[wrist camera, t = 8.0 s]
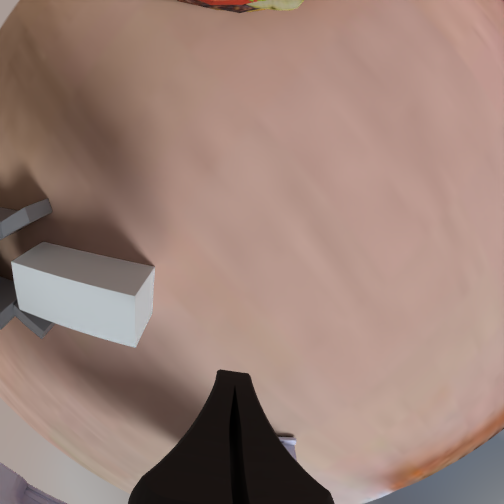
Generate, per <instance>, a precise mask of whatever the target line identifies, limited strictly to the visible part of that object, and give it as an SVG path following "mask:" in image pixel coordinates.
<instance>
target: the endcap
mask: <svg viewBox="0 0 504 504" xmlns="http://www.w3.org/2000/svg"><path fill="white" fill-rule="evenodd" d="M50 213H52V209H51V206H50V203H49V200H48V199H45V200H42V201H39V202H37V203H34V204H31V205H29V206H26V207H24V208H22V209H21V210H19V211H17V210H12V209H6V208H1V207H0V240H1V239H3V238H4V237H6V236H8V235H10V234H12V233H14V232H16V231H18V230H20V229H22V228H24V227H25V226H27V225H29V224H30V223H32V222H34V221H36V220H38V219H40V218H42V217H44V216H46V215H48V214H50ZM15 316H16V317H17V318H18V319H19V320H20V321H21V322H22V323H23V324H25V325H26V326H27V327H28V328H29V329H30V330H31V331H33V332H34V333H35V334H36V335H37V336H38V337H40V338H41V339H43V337H44V336H45V335H46V334H47V333H48V332H49V330H50V329H51V328H52V327H53V326H54V325H55V324H56V323H53V322H51V321H48V320H45V319H43V318H40V317H37V316H35V315H32V314H30V313H27V312H25V311H22V310H20V309H19V305H18V300H17V295H16V290H15V284H14V281H11V280H8V279H6V278H3V277H0V330H1V329H2V328H3V327H4V326H5V325H6V324H7V323H8V322H9V321H10V320H11V319H12V318H14V317H15Z"/></svg>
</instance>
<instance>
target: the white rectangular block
mask: <svg viewBox="0 0 504 504" xmlns="http://www.w3.org/2000/svg"><path fill="white" fill-rule="evenodd" d="M11 264H12V271H13V278H14V284H15V290H16V295H17V300H18V305H19V309H20V310H22V311H25V312H27V313H30V314H32V315H35V316H37V317H40V318H43V319H45V320H48V321H51V322H53V323H56V324H59V325H62V326H65V327H67V328H70V329H73V330H76V331H79V332H83V333H86V334H89V335H92V336H95V337H99V338H102V339H105V340H109V341H112V342H116V343H120V344H123V345H127V346H131V347H135V348H136V346H137V344H138V342H139V340H140V337H141V335H142V333H143V331H144V329H145V327H146V325H147V323H148V321H149V319H150V317H151V315H152V310H153V290H154V274H155V267H154V266H149V265H145V264H140V263H135V262H130V261H126V260H121V259H116V258H112V257H107V256H103V255H98V254H94V253H90V252H85V251H81V250H77V249H72V248H68V247H64V246H60V245H56V244H51V243H47V242H42V243H40V244H38V245H37V246H35V247H33V248H32V249H30V250H29V251H27V252H25V253H24V254H22V255H21V256H19V257H17V258H16V259H14V260H13V261H11Z"/></svg>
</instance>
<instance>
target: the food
mask: <svg viewBox="0 0 504 504" xmlns="http://www.w3.org/2000/svg"><path fill="white" fill-rule="evenodd" d="M178 1H180V2H185V3H190V4H194V5H198V6H202V7H207V8H212V9H216V10H227V11H233V12H238V13H242V12H253V11H259V10H265V9H270V10H293V9H297V8H298V7H299V6H300V5H301V4H302V2H303V1H304V0H178Z"/></svg>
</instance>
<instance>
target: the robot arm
mask: <svg viewBox="0 0 504 504" xmlns="http://www.w3.org/2000/svg"><path fill="white" fill-rule="evenodd" d="M296 442H297V441H296V438H293V437H278V436H277V435H276V433H275V432H274V430H273V428H272V427H271V425H270V423H269V421H268V419H267V417H266V415H265V413H264V411H263V409H262V407H261V405H260V403H259V400H258V398H257V395H256V393H255V390H254V387H253V384H252V380H251V377H250V375H249V374H248V373H241V372H233V371H227V370H218V371H217V375H216V380H215V383H214V386H213V388H212V391H211V393H210V395H209V397H208V399H207V401H206V403H205V405H204V407H203V409H202V410H201V412H200V414H199V415H198V417H197V418H196V420H195V421H194V423H193V424H192V426H191V427H190V429H189V430H188V431H187V433H186V434H185V435H184V436H183V438H182V439H181V440H180V441H179V442H178V444H177V445H176V446H175V447H174V448H173V449H172V450H171V451H170V452H169V453H168V454H167V455H166V456H165V457H164V458H163V459H162V460H161V461H160V462H159V463H158V464H157V465H156V466H154V467H153V468H152V469H151V470H150V471H148V472H147V473H146V474H145V475H143V476H142V478H141V479H140V480H139V482H138V483H137V485H136V486H135V487H134V489H133V491H132V493H131V495H130V498H129V501H128V504H334V501H333V498H332V496H331V493H330V492H329V491H328V490H327V489H325V488H324V487H323V486H322V485H320V484H319V483H318V482H317V481H316V480H315V479H313V478H312V477H311V476H310V475H309V474H308V473H307V472H306V471H305V470H304V469H303V468H302V467H301V466H300V464H299V463H298V462H297V460H296V453H295V446H294V445H295V444H296ZM0 504H67V503H65V502H62V501H60V500H58V499H56V498H54V497H52V496H50V495H48V494H46V493H44V492H43V491H41V490H39V489H37V488H35V487H33V486H32V485H30V484H28V483H27V482H26V480H25V479H23V478H22V477H21V476H20V475H18V474H17V473H16V472H14V471H13V470H11V469H9V468H8V467H6V466H5V465H3V464H2V463H0Z"/></svg>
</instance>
